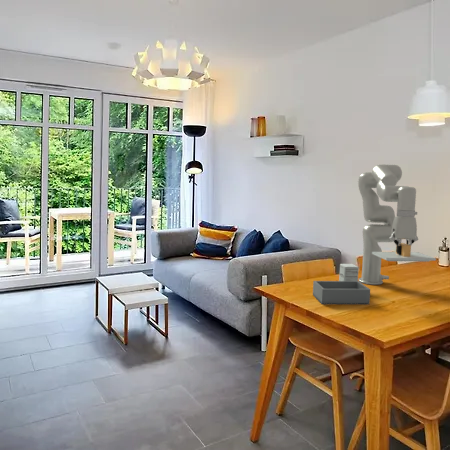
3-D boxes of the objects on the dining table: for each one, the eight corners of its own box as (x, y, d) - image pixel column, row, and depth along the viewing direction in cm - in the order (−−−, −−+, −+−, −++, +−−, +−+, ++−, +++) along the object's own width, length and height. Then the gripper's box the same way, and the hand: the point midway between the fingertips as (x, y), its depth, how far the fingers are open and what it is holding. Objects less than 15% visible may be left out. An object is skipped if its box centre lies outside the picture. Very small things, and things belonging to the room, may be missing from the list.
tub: (357, 295, 216) (358, 281, 216) (369, 304, 202) (370, 289, 201) (312, 295, 215) (313, 280, 214) (321, 304, 200) (322, 289, 199)
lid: (417, 255, 213) (418, 241, 212) (435, 262, 197) (436, 247, 197) (371, 255, 211) (372, 241, 210) (386, 261, 196) (387, 246, 195)
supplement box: (338, 287, 230) (339, 263, 229) (352, 287, 231) (353, 263, 229) (343, 291, 223) (344, 266, 221) (357, 291, 223) (359, 266, 222)
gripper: (418, 213, 206) (415, 252, 209) (384, 213, 205) (382, 252, 207) (427, 215, 199) (424, 255, 201) (391, 214, 198) (389, 255, 200)
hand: (402, 253), depth 204 cm, fingers closed on lid, 3 cm apart
